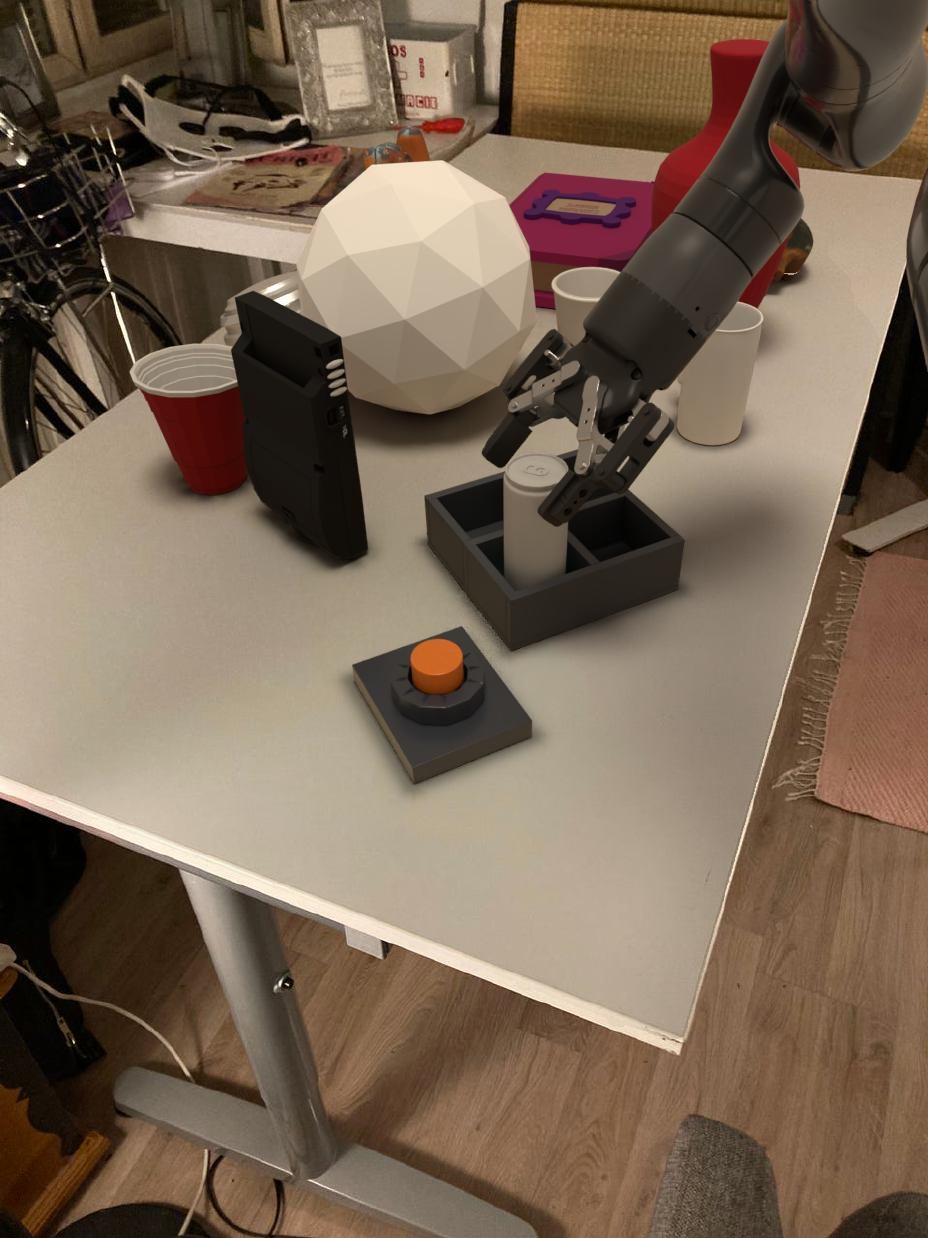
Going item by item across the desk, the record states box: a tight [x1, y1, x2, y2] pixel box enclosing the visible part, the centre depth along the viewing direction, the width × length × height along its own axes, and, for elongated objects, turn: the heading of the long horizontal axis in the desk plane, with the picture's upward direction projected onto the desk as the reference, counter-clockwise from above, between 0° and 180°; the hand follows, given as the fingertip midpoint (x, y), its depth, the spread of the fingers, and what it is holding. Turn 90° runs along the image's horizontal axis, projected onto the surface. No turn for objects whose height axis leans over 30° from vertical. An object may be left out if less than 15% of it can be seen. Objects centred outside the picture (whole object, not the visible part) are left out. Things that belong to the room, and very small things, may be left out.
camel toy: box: [363, 125, 431, 172], centre depth 127 cm, size 25×13×17 cm, turn 157°
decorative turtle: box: [771, 217, 814, 284], centre depth 123 cm, size 10×15×8 cm, turn 171°
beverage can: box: [504, 451, 568, 592], centre depth 74 cm, size 5×5×12 cm
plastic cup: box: [129, 343, 248, 496], centre depth 90 cm, size 11×11×12 cm
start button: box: [410, 639, 464, 695], centre depth 67 cm, size 4×4×2 cm
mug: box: [676, 302, 764, 446], centre depth 95 cm, size 10×7×12 cm, turn 24°
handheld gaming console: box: [231, 291, 369, 561], centre depth 80 cm, size 12×5×20 cm, turn 42°
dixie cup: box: [552, 267, 620, 346], centre depth 104 cm, size 8×8×10 cm
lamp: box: [219, 159, 538, 415], centre depth 99 cm, size 23×35×24 cm, turn 70°
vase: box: [651, 38, 801, 310], centre depth 102 cm, size 15×15×30 cm
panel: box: [351, 626, 533, 784], centre depth 69 cm, size 11×9×4 cm
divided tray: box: [423, 448, 686, 652], centre depth 80 cm, size 15×15×5 cm
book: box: [509, 172, 655, 310], centre depth 127 cm, size 21×28×8 cm
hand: (517, 490), depth 70 cm, fingers open, 8 cm apart
